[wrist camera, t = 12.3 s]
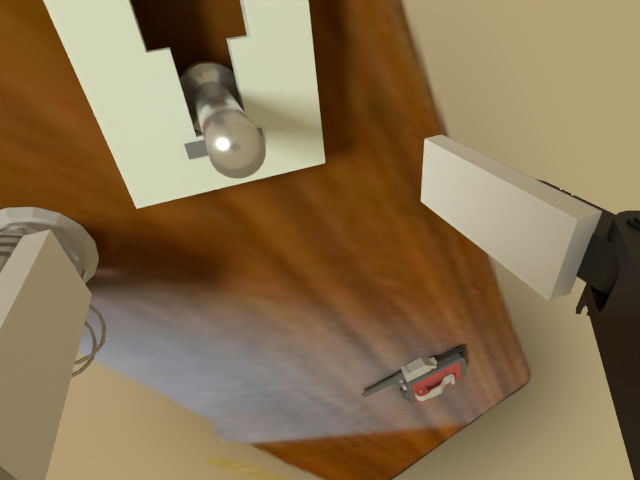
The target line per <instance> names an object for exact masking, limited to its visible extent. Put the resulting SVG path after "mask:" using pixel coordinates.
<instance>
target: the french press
mask: <svg viewBox="0 0 640 480" xmlns="http://www.w3.org/2000/svg"><path fill="white" fill-rule="evenodd" d="M50 229H51V231H52V232H53V234H54V235H55V237H56V239H57V240H58V242H59V243H60V245H61V247H62V248H63V250H64V251H65V253H66V255H67V256H68V258H69V259H70V261H71V262H72V264H73V266H74V267H75V269H76V270H77V272H78V274H79V275H80V277H81V278H82V280H83V282H84V283H86V282H87V281H88V280H89V279H90V278H91V277H92V276H93V275H94V274H95V271H96V267H97V264H98V261H99V256H98V252H97V248H96V243H95V241H94V240H93V239H92V238H91V236H90V235H89V234H88V233H87V231H86V230H85V229H84V228H83V227H82V226H81V225H80V224H78V223H76V222H74V221H73V220H71V219H69V218H68V217H66V216H64V215H63V214H61V213H57V212H53V211H49V210H45V209H41V208H37V207H18V208H5V209H2V210H0V273H1V271H2V269H3V268H4V266H5V264H6V263H7V261H8V259H9V258H10V256H11V255H12V253H13V251H14V250H15V248H16V246H17V245H18V243H19V241H20V240H21V238H22V237H23V236H25V235H29V234H33V233H37V232H41V231H46V230H50ZM89 307H90V308H91V309H92V310H93V311H94V312H95V313H96V314H97V315H98V316H99V318H100V321H101V323H102V337H101V342H100V344H99V345H98V347H97V342H96V338H95V335H94V332H93V329H92V327H91V326H90V325H89V324H88V323H87V322H86V321H85V324H84V325H85V326H86V327H87V328H88V329H89V330H90V333H91V335H92V339H93V349H92V353H91V354H90V355H88V356H86V357H84V358H82V359H80V360H78V361H75V364H80V363H82V362H84V361H86V360H88V359H89V360H88V361H87V363H86V364H85V365H84V366H83V367H82V368H80V369H79V370H78V371H76V372H74V373H72V376H71V378H72V377H74V376H76V375H78V374H80V373H81V372H83V371H84V369H86V368H87V367H88V366H89V365H90V363H91V362H92V361H93V359H94V356H95V354H96V353H97V351H98V350H99V349H100V348H101V347H102V345H103V344H104V342H105V333H106V326H105V322H104V320H103V318H102V315H101V314H100V312H99V311H98V310H97V309H96V308H95V307H94V306H93V305H91V304H89ZM96 347H97V348H96ZM75 364H74V365H75Z"/></svg>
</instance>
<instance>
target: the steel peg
mask: <svg viewBox="0 0 640 480" xmlns="http://www.w3.org/2000/svg"><path fill="white" fill-rule="evenodd" d="M179 80H180V83H181V87H182V90H183V93H184V97H185V100H186V103H187V106H188V110H189V113H190V116H191V120H192V123H193V126H194V129H196V130H198V131H202V133H203V137H204V140H205V144H206V148H207V151H208V155H209V158H210V161H211V163H212V165H213V166H214V168H215V169H216V170H217V171H218V172H219V173H221V174H222V175H224V176H226V177H229V178H235V179H240V178H245V177H248V176H251V175H252V174H254V173H255V172H257V171H258V170H259V169H260V167H261V166H262V164H263V162H264V160H265V156H266V146H265V142H264V140H263V138H262V136H261V135H260V133H259V132H258V130H257V129H256V128H255V126H254V125H253V124H252V122H251V121H250V119H249V118H248V117H247V115H246V114H245V113H244V111H243V110H242V106H241V102H240V97H239V93H238V88H237V84H236V79H235V75H234V73H233V72H232V71H231V70H230V69H229V68H228V67H226V66H224V65H223V64H220V63H218V62H215V61H199V62H196V63H193V64H192V65H190V66H188V67H187V68H186V69H185V70H184V71H183V72H182V74H181V75H180V77H179Z"/></svg>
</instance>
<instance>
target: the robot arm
mask: <svg viewBox="0 0 640 480" xmlns="http://www.w3.org/2000/svg"><path fill="white" fill-rule="evenodd" d="M421 202H422V203H424V204H425V205H426V206H427V207H429V208H430V209H431V210H433V211H434V212H435V213H436V214H438V215H439V216H440V217H441V218H443V219H444V220H445V221H447V222H448V223H449V224H450V225H452V226H453V227H454V228H456V229H457V230H458V231H459V232H461V233H462V234H463V235H465V236H466V237H467V238H468V239H470V240H471V241H472V242H474V243H475V244H476V245H477V246H479V247H480V248H481V249H483V250H484V251H485V252H486V253H488V254H489V255H490V256H492V257H493V258H494V259H495V260H497V261H498V262H499V263H501V264H502V265H503V266H504V267H506V268H507V269H508V270H510V271H511V272H512V273H513V274H515V275H516V276H517V277H519V278H520V279H521V280H522V281H524V282H525V283H526V284H527V285H529V286H530V287H531V288H533V289H534V290H535V291H536V292H538V293H539V294H540V295H542V296H543V297H545V299H547V300H548V301H551V300H554V299H556V298H559V297H561V296H564V295H567V294H569V293H570V292H571V290H572V287H573V285H574V282H575V280H576V277H579V278H580V279H582V280H583V281H585V282H586V283H587V284H586V286H585V288H584V291H583V293H582V295H581V298H580V300H579V303H578V305H577V307H576V314H581V311H582V309H583V307H585V306H587V308H588V312H587V315H588V316H590V319H591V323H592V327H593V330H594V334H595V338H596V340H597V345H598V348H599V352H600V356H601V359H602V363H603V367H604V370H605V374H606V378H607V382H608V385H609V389H610V392H611V396H612V400H613V403H614V407H615V411H616V415H617V418H618V422H619V426H620V429H621V433H622V437H623V440H624V444H625V447H626V451H627V455H628V459H629V462H630V466H631V469H632V473H633V477H634V480H640V211H624V212H620V213H618V214H617V215H615V214H613V213H611V212H609V211H606V210H604V209H602V208H600V207H598V206H596V205H594V204H591V203H589V202H587V201H585V200H583V199H581V198H579V197H577V196H575V195H574V196H572V195H571V194H570V193H568V192H566V191H564V190H560V189H559V188H558V187H556V186H553V185H551V184H549V183H547V182H545V181H540V180H537V179H534V178H531V177H529V176H527V175H525V174H523V173H521V172H519V171H517V170H515V169H513V168H511V167H508V166H506V165H504V164H502V163H500V162H498V161H496V160H494V159H492V158H490V157H487V156H485V155H483V154H481V153H479V152H477V151H475V150H473V149H471V148H469V147H466V146H465V145H462V144H460V143H458V142H456V141H454V140H452V139H450V138H448V137H446V136H444V135H438V136H434V137H430V138H426V139H425V141H424V157H423V173H422V189H421ZM91 296H92V294H91V293H90V291H89V290H88V288H87V286H86V285H85V283H84V282H83V280H82V278H81V277H80V275H79V274H78V272H77V270H76V269H75V267H74V266H73V264H72V262H71V261H70V259H69V258H68V256H67V255H66V253H65V251H64V250H63V248H62V247H61V245H60V243H59V242H58V240H57V239H56V237H55V235H54V234H53V232H52V231H51V229H50V230H46V231H41V232H37V233H33V234H29V235H25V236H23V237H22V238H21V240H20V241H19V243H18V245H17V246H16V248H15V250H14V251H13V253H12V255H11V256H10V258H9V259H8V261H7V263H6V264H5V266H4V268H3V269H2V271H1V273H0V480H45V478H46V475H47V471H48V467H49V463H50V459H51V455H52V451H53V447H54V443H55V439H56V435H57V431H58V427H59V423H60V419H61V415H62V411H63V407H64V403H65V399H66V395H67V391H68V387H69V383H70V379H71V376H72V372H73V368H74V364H75V359H76V356H77V352H78V348H79V344H80V340H81V336H82V332H83V328H84V324H85V320H86V316H87V312H88V308H89V304H90V300H91Z"/></svg>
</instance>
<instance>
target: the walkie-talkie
mask: <svg viewBox="0 0 640 480" xmlns="http://www.w3.org/2000/svg"><path fill="white" fill-rule="evenodd" d="M465 352H466V349H465V348H464V347H459V348H457V349H456V348H452V349H450V350H448V351H446V352H444V353H442V354H440V355H438V356H436V357H432V358H430V357H420V358H418V359H416V360H414V361H412V362H410V363H408V364H406V365H403V366H401V371H400V372H398V373H396V374H395V375H394V376H392V377H390V378H388V379H386V380H384V381H382V382H380V383H378V384H376V386H375V387H373V388H371V389H369V390H367V391H365V392H364V393H362V396H363V397H367V396H369V395H371V394H373V393H375V392H377V391H379V390H381V389H383V388H385V387H387V386H389V385H391V384H393V383H395V382H397V381H400V383H401V382H402V388H403V389H402V388H401V389H400V393H401V395H402V397H403V399H404V400H409V401H410V403H413V402H415V401H417V400H418V401H420V402H424V401H426V400H428V399H430V397H434V396H436V395H438V394H440V393H442V391H443V388H444V387H445V386H446V385H448V384H450V383H451V384H455V381H456V380H458V379H460V378H462V377H463V376H465V375H466V361H465V358H464V357H463V356H462V355H463V354H464V353H465Z"/></svg>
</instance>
